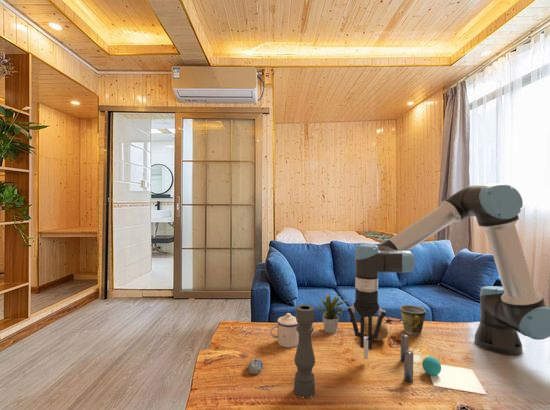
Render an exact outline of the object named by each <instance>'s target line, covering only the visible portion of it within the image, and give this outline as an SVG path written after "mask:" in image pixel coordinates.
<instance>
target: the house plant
mask: <svg viewBox="0 0 550 410" xmlns="http://www.w3.org/2000/svg"><path fill="white" fill-rule="evenodd" d="M330 295H331V294H330V293H326V294H325V300H324V298H321V297H320V296H319V299H320V301H319V302H321V304H322V305H323V306H324V307H323V306H320V305H317V306H316V307H317V308H319V309H321V310H323V313H322V322H323V329H324V332H325V333H326V334H336V333H337V332H338V331H337V330H338V325H339V319H340V317H339V315H337V314H340V315H341V316H343V313H342V312H343V311H345V309H346V307H341V306H340V305H345V304H348V302H345V301H347V299H343V300H341V301H339V300H340V298H341V297H342V295H340V296H338V294H336V295H335V296H334V298H333V299H331V296H330ZM341 311H342V312H341Z"/></svg>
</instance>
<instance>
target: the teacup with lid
mask: <svg viewBox="0 0 550 410" xmlns="http://www.w3.org/2000/svg"><path fill="white" fill-rule="evenodd" d="M276 323H277V325H273V326H271V327H270V330H269V333H270V336H271V337H272V338H273V339H277V344H278V345H279V346H280V347H283V348H288V349H289V348H290V349H291V348H295V347H297V346H298V336H299V333H298V332H297V330H296V327H297V326H298V323H297V321H296V316H294V315H292V314H291V313H289V312H287V313H285V315H284V316H280V317H278V318H277V321H276ZM274 329H277V335H274V334H273V330H274Z"/></svg>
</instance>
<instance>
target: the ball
mask: <svg viewBox="0 0 550 410" xmlns="http://www.w3.org/2000/svg"><path fill="white" fill-rule="evenodd" d="M421 363H422V364H421V367H422V369H423V371H424V372H425V373H426V374H428V375H429V376H430V375H432V376H435V375H438V374H439V373H440V371H441V365H442V364H441V363H440V361H439V360H438V359H437V358H436V357H434V356H426V357H425V358H424V359H423V360H422V362H421Z"/></svg>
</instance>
